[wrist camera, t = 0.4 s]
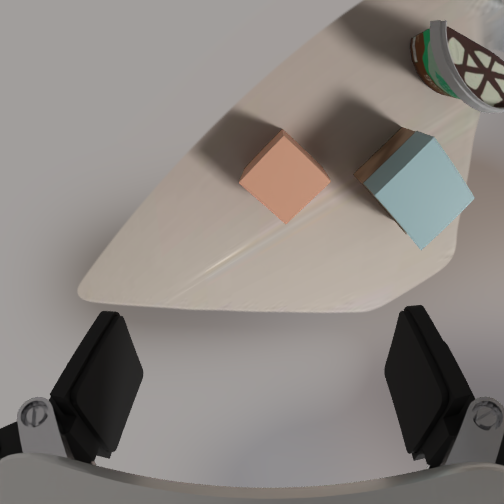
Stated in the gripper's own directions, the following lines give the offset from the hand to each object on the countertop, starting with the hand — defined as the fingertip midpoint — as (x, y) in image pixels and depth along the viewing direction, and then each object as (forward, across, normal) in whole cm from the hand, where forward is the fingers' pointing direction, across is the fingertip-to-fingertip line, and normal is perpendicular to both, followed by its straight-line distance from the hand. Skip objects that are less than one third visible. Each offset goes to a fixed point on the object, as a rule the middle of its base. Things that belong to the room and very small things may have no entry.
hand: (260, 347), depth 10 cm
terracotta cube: (+27, -2, 0) cm, 27 cm away
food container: (+27, -20, -11) cm, 35 cm away
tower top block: (+23, -15, +1) cm, 28 cm away
